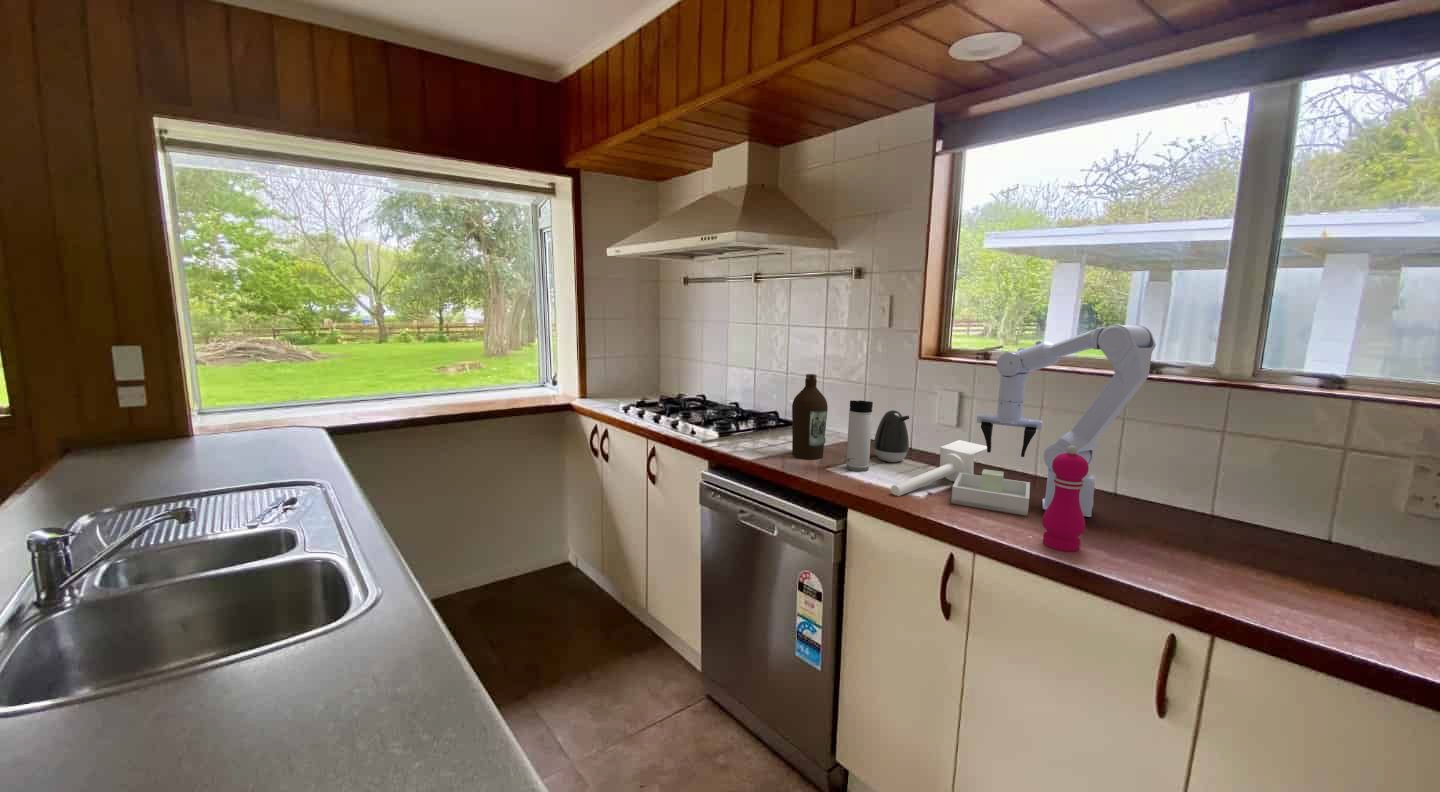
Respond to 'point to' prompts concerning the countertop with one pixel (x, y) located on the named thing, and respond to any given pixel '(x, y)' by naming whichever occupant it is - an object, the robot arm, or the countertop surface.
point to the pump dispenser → (892, 437)
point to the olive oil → (809, 421)
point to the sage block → (992, 481)
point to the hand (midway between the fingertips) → (1005, 453)
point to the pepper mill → (1066, 503)
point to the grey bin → (991, 495)
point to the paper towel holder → (945, 466)
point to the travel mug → (859, 435)
